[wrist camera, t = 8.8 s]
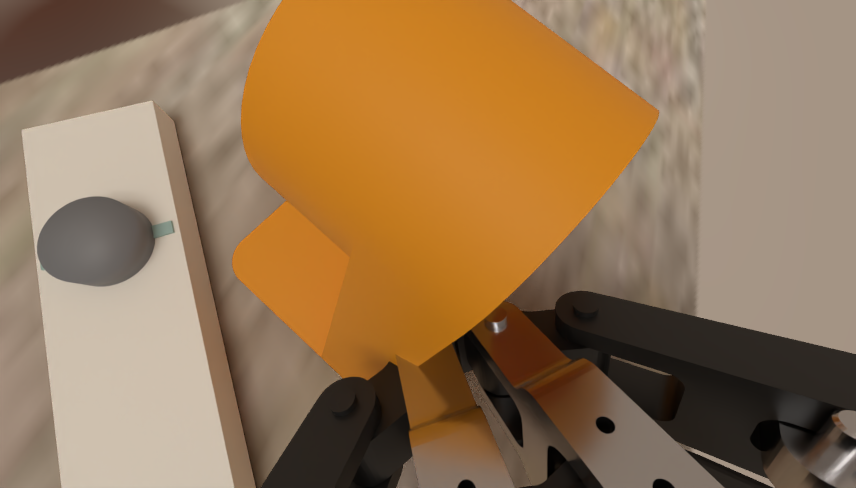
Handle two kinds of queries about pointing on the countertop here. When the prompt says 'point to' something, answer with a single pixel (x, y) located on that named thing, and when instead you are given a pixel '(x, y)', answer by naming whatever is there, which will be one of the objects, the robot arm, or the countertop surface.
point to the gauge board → (129, 308)
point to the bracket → (419, 167)
